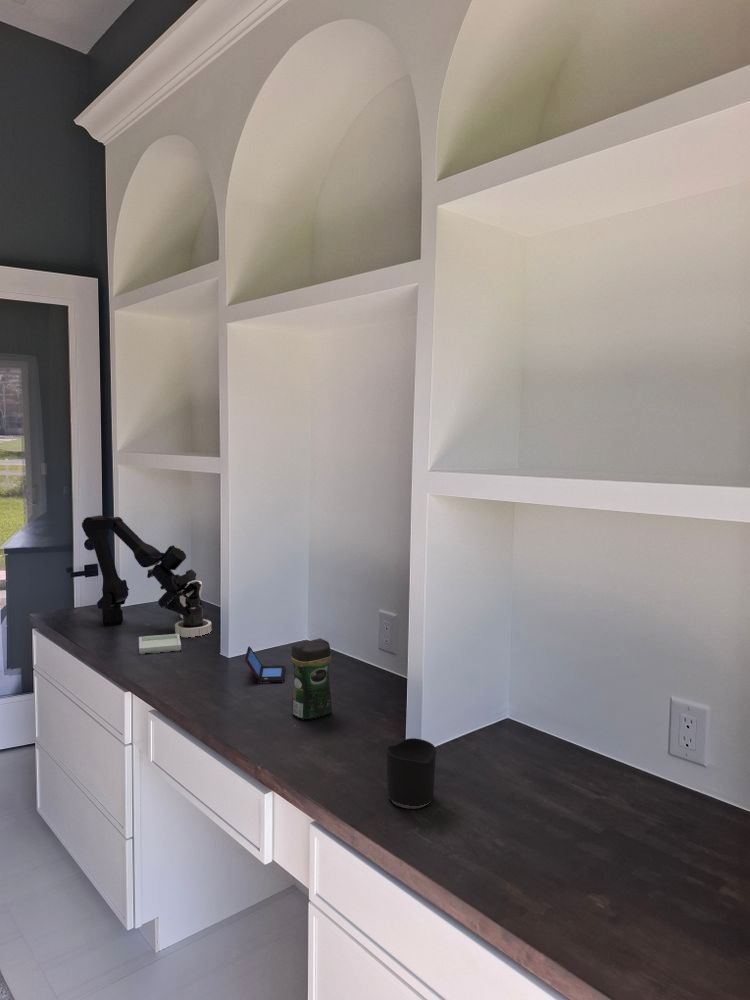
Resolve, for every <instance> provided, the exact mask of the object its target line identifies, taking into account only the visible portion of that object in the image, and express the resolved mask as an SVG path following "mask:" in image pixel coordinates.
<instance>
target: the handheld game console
mask: <svg viewBox="0 0 750 1000" xmlns="http://www.w3.org/2000/svg"><path fill="white" fill-rule="evenodd" d="M244 660H245V663H246V664H247V667H248V668H249V669H250V671H251V672H252V673H253V675H254V676H255V678H256V683H257V682H282V681H284V682H285V677H286V676H285V675H286V666H285V665H264V664H262V663H261V662H260V660H259V658H258V657H257V655H256V654H255V652H254V651H253V649H252V647H251V646H248V647H247V650H246V653H245V657H244ZM282 683H283V682H282Z"/></svg>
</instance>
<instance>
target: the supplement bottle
mask: <svg viewBox="0 0 750 1000" xmlns="http://www.w3.org/2000/svg"><path fill="white" fill-rule="evenodd" d="M199 603H200V598H199V597H188V598H186V599H185V604H186V606H184V608H185V609H186V610H187V612H188V614H189V616H188V617H186V616H184V615H183V619H182V621H183V628H197V627H202V626H203V619H204V609H203V607H204V606H203V607H202V606H201V605H199Z"/></svg>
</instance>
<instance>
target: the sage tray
mask: <svg viewBox="0 0 750 1000" xmlns="http://www.w3.org/2000/svg"><path fill="white" fill-rule="evenodd" d="M180 650H181V651H182V643H181V637H180V636H179V634H175V633H171V634H160V635H159V634H158V635H145V636H138V655H139V654H141V655H146V654H145V653H153V654H161V653H160V652H164V653H171V652H170V651H175V652H181V651H180Z"/></svg>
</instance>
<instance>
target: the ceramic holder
mask: <svg viewBox="0 0 750 1000" xmlns="http://www.w3.org/2000/svg"><path fill="white" fill-rule="evenodd" d="M211 631H212V621H211V620H209V619H205V618H203V626H202V627H197V628H183V620H180V621H178V622H176V623H175V624H174V632H175V633H174V634H179V636H181V637H180V638H188V637H191V638H196V637H195V636H201V637H203V636H202V635H205V634H208V633H209V634H211V633H212V632H211ZM210 632H211V633H210ZM209 634H208V635H209ZM205 636H206V635H205Z"/></svg>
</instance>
